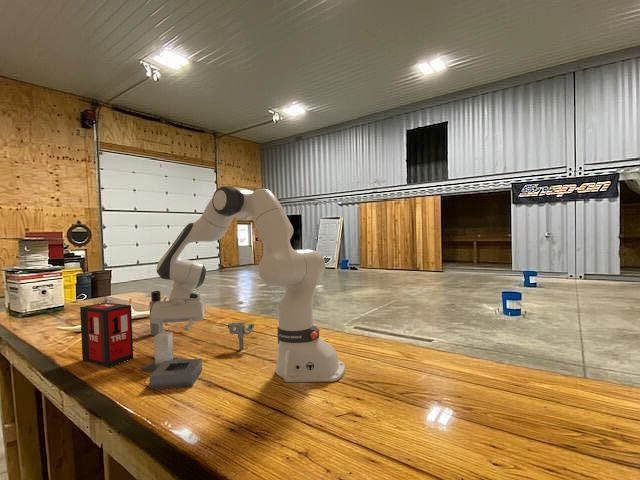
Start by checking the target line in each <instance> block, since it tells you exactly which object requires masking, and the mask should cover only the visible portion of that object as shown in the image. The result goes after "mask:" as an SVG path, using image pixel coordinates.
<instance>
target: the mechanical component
mask: <svg viewBox="0 0 640 480" xmlns="http://www.w3.org/2000/svg"><path fill="white" fill-rule="evenodd" d="M254 328H255V326H254V324H253V323H249V324H248V325H247V326H246V324H245V322H230V323H228V324H227V329H228V330H229V331H228V332H229V334H231V335H237V339H238V342H239V345H238V347H239V350H240V351H242V350H243V349H245V348H244V338H245V335H250V334H251V333H252V332H253V330H254Z"/></svg>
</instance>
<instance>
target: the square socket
mask: <svg viewBox="0 0 640 480" xmlns="http://www.w3.org/2000/svg"><path fill="white" fill-rule="evenodd" d="M185 359H186V360H172V361H164V362H163V363H162V364H161V365H160V366H159V367H158V368H157V369H156V370H155V371H154V372H151V374H150V375H149V390H150V391H151V390H154V391H155V390H163V389H164V390H165V389H167V390H168V389H175V388H176V389H178V388H191V387H194V385H195V382H196V381H197V380H198V379H199V376H200V375H201V373H202V372H203V358H202V357H201V358H191V359H189V358H185Z"/></svg>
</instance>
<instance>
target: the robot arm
mask: <svg viewBox="0 0 640 480" xmlns="http://www.w3.org/2000/svg"><path fill="white" fill-rule="evenodd" d="M234 218H236V219H240V220H252V221H253V223H254V226H255V227H256V230H257V233H258V235H259V237H260V239H261V242H262V245H263V255H262V258H260V260H259V264H258V273H259V278H260V279H261V281H262V283H264V284H265V285H267V286H268V287H286V286H287V287H286V291H285V293H284V295H283V296H282V297H281V298H280V300H279V302H278V306H277V311H278V316H277V317H278V327H277V334H276V335H277V344H278V351H277V352H278V354H277V361H276V367H275V369H274V370H275V371H274V372H275V374H276V375H278V376H279V377H280V378H282V379H283V381H285V382H286V383H307V382H308V383H310V382H312V383H313V382H314V383H316V382H318V383H319V382H320V383H321V382H324V383H325V382H336V381H338V380H340V379H341V378H342V377H343V376H344V374H345V371H346V364H345V363H344V362H343V361H342V360H338V353H337V351H336V349H335V347H333V346H332V345H331V344H329V343H328V342H327V341H325V340H324V339H322V338H321V337H320V326H318V327H317V326H315V325H314V319H313V317H314V315H313V313H314V312H313V310H314V309H313V304H314V297H315V292H316V288H317V285H318V282H319V280H320V278H321V276H322V275H323V274H324V272H325V270H326V260H325V258H324V256H323V254H322V253H321V252H319V251H317V250H313V249H308V248H302V249H300V248H299V249H294V248H293V246H292V244H291V239H292V236H293V235H294V227H293V225H292V223H291V221H290V219H289V218H288V215H287V214H286V212H285V209H284V208H283V206H282V204H281V203H280V201H279V199H278V198H277V197H276V196H275V194H274V193H273V192H272V191H271V190H270V189H267V188H258V189H255V190H251V189H247V188H244V187H234V186H230V185H224V186H220V187H217V189H216V190H215V191H214V194H213V196H212V197H211V199H210V200H209V202H208V203H207V205H206V206H205V208H204V210H203V213H202V214H201V216H200V218H199V219H197V220H196V221H194V222H190V223H188V224H186V226H185V227H184V228H183V229H182V231H181V232H180V234H178V236H177V238H176V239H175V240H174V241H173V243H172V244H171V245H170V247H169V249H168V250H167V251H166V252H165V254H164V255H163V256H162V257H161V258H160V259H159V261H158V262H157V266H156V273H157V274H158V276H159V278H161V279H162V280H167V281H173V282H172V289H171V291H170V295H169V299H168V300H164V301H163V300H162V301H158V302H157V303H155V304H153V307H152V311H151V313H150V312H149V315H148V319H149V322H150V321H151V322H152V323H153V324H155V323H158V325H159V333H161V332H164V333H165V326H164V327H163V326H161V325H163V323H164V324H168V323H171V324H173V323H186V322H188V323H187V324H185V325H184V331H185V332H190V329H191V327H192V326H193V325H194V324H195V322H201V321H203V320H204V318H205V315H206V314H205V307H204V304H205V303H204V299H203V297H202V295H201V294H199V293H194V290H195V289H198V288H200V286H203V284H204V282H205V280H206V274H207V273H206V272H207V269H206V266H205V264H203V263H201V262H199V261H194V260H191V259H187V258H184V257H180V255H181V253H182V252H183V250H184V249H185V248H186V246H187V245H188V244H191V243H196V242H198V243H199V242H206V243H207V242H209V243H210V242H216V241H218V240H221V239H223V237H225V235H226V233H227V232H228V231H229V228H230V227H231V225H232V222H233V220H234Z"/></svg>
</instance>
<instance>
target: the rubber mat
mask: <svg viewBox="0 0 640 480" xmlns="http://www.w3.org/2000/svg"><path fill="white" fill-rule="evenodd" d="M186 359H187V358H179V357H173V360H186ZM158 367H159V366H155V360H154V361H152V362H149V363H147V364H146V365H145V366H141V368H140V370H141V371H142V372H151V373H153V372H154V371H155V370H156V369H157V368H158Z"/></svg>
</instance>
